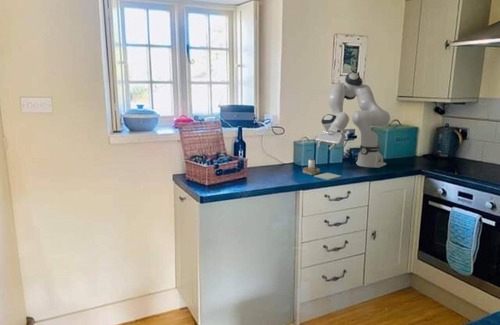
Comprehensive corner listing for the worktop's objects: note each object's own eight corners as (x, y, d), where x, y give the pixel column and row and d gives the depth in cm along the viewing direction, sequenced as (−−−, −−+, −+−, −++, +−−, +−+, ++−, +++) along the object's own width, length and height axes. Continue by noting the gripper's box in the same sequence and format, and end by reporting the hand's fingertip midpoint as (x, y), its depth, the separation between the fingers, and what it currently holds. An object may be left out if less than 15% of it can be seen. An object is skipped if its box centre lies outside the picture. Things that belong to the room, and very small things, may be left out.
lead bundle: (310, 171, 242) (311, 158, 240) (315, 173, 239) (316, 159, 237) (306, 172, 240) (307, 159, 238) (311, 173, 237) (312, 160, 235)
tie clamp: (308, 170, 246) (308, 166, 245) (319, 173, 239) (319, 168, 238) (300, 172, 241) (301, 167, 240) (311, 174, 234) (311, 170, 234)
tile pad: (327, 173, 238) (327, 172, 238) (341, 176, 230) (341, 175, 230) (313, 176, 230) (313, 175, 230) (328, 180, 222) (328, 179, 222)
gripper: (320, 128, 254) (309, 143, 250) (344, 131, 239) (334, 147, 235) (324, 134, 258) (314, 149, 254) (348, 137, 242) (338, 153, 238)
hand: (324, 148), depth 244 cm, fingers open, 8 cm apart
